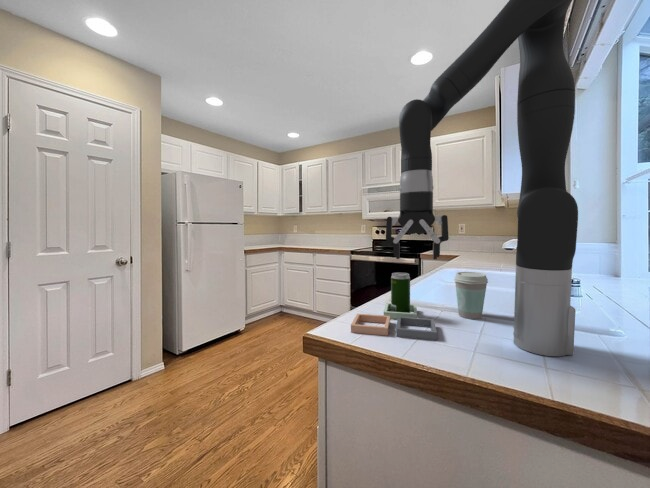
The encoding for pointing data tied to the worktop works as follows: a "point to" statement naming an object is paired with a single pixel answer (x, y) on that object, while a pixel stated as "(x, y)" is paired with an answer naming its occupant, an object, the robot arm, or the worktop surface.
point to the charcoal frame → (413, 332)
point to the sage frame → (400, 314)
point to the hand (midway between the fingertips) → (415, 258)
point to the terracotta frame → (371, 329)
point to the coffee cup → (470, 293)
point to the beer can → (400, 292)
